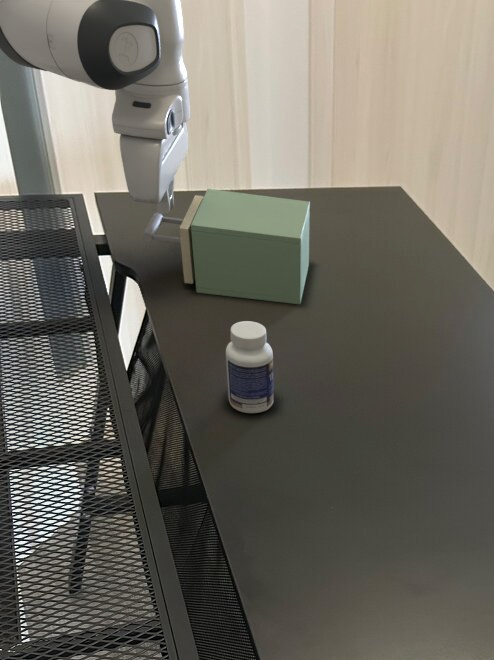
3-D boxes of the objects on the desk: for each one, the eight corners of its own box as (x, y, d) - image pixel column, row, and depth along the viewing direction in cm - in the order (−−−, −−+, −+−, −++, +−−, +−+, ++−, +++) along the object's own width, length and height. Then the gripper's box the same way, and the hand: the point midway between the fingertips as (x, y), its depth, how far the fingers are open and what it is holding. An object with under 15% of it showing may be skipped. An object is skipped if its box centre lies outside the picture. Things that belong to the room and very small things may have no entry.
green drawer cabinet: (196, 292, 121) (190, 224, 114) (211, 253, 129) (207, 188, 123) (300, 304, 122) (300, 238, 115) (308, 265, 131) (309, 201, 124)
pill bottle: (279, 411, 104) (278, 338, 97) (235, 417, 101) (232, 344, 94) (266, 387, 107) (264, 315, 100) (223, 393, 105) (218, 320, 98)
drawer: (142, 278, 120) (135, 222, 114) (160, 243, 127) (154, 189, 122) (281, 294, 122) (280, 240, 116) (289, 259, 130) (289, 206, 124)
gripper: (147, 72, 115) (159, 178, 125) (107, 123, 101) (124, 238, 111) (194, 79, 116) (202, 184, 126) (161, 130, 102) (173, 244, 112)
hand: (165, 210), depth 118 cm, fingers closed
